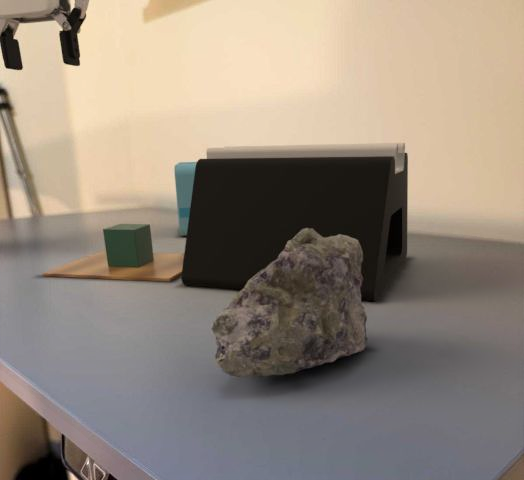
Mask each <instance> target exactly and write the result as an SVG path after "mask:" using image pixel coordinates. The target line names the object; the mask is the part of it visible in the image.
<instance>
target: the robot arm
mask: <svg viewBox="0 0 524 480" xmlns="http://www.w3.org/2000/svg"><path fill="white" fill-rule="evenodd" d="M89 4H90V0H74V4H73V5H74V6H73V8H72V4H71V0H0V51H1V56H2V60H3V65H4V67H5V69H6V70H7V69H8V70H14V71H22V70H23V69H24V66H23V60H22V59H23V58H22V54H21V53H22V52H21V49H20V43H19V40H18V39H17V38H15V35H16V33H17V31H18V29H19V26H20V24H35V23H45V22H54V21H56V23H57V24H58V25H59V26H60V28H61V30H58V37H59V43H60V51H61V57H62V63H63V64H64V65H67V66H73V67H79V66H80V65H81V60H80V58H81V51H80V43H79V38H78V37H79V36H78V34H81V30H82V29H81V27H82V25H83V23H84V22H85V20H86V19H87V11H88V7H89Z"/></svg>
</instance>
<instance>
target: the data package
mask: <svg viewBox="0 0 524 480" xmlns="http://www.w3.org/2000/svg"><path fill="white" fill-rule="evenodd" d="M196 163H197V161H185V162H184V161H182V162H178V163H177V164H175V165H174V168H173V169H174V182H175V183H174V184H175V193H176V205H177V206H176V207H177V216H178V218H177V219H178V228H179V229H178V230H179V235H180V237H187V229H188V221H189V214H190V206H191V198H192V191H193V183H194V175H195V167H196Z"/></svg>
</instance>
